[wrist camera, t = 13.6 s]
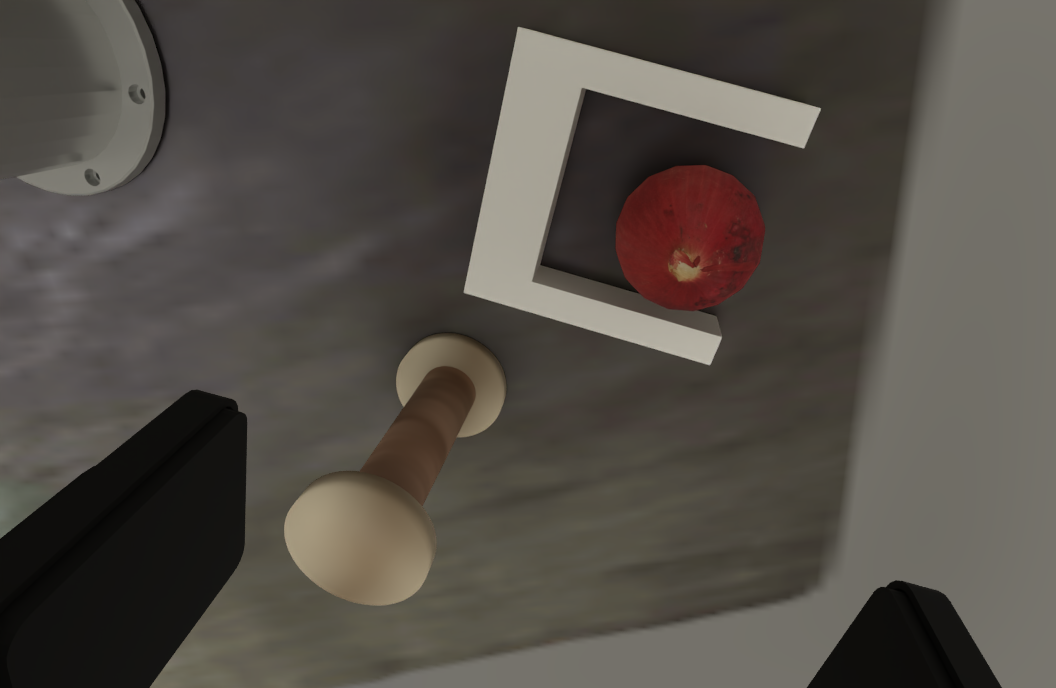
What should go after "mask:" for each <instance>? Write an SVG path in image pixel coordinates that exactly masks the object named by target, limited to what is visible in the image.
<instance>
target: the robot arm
mask: <svg viewBox="0 0 1056 688" xmlns="http://www.w3.org/2000/svg"><path fill="white" fill-rule="evenodd" d="M164 120H165V85H164V79H163V72H162V66H161V62H160V58H159V55H158V52H157V49H156V46H155V42H154V39H153V36H152V34H151V32H150V29H149V27H148V25H147V23H146V21H145V19H144V17H143V15H142V12H141V10H140V8H139V7H138V5H137V3H136V2H135V0H0V180H2V179H7V178H12V177H17V178H19V179H20V180H22V181H24V182H26V183H27V184H30V185H32V186H35V187H37V188H40V189H43V190H45V191H48V192H52V193H57V194H62V195H67V196H89V195H93V194H97V193H102V192H106V191H110V190H113V189H115V188H117V187H120V186H122V185H125V184H127V183H128V182H130V181H131V180H132V179H133V178H135V177H136V176H137V175H139V174H140V173H141V172H142V171H143V169H144V168H145V167H146V165H147V164H148V163H149V162H150V160H151V159H152V158H153V155H154V153H155V151H156V148H157V146H158V144H159V141H160V139H161V135H162V130H163V125H164ZM246 456H247V417H246V415H245V414H244V413H242V412H238V405H237V403H236V401H234V400H232V399H229V398H226V397H222V396H218V395H215V394H211V393H207V392H203V391H200V390H191V391H189V392H188V393H186V394H185V395H183V396H182V397H181V398H180V399H178V400H177V401H176V402H175V403H173V404H172V405H171V406H170V407H168V408H167V409H166V410H165V411H163V412H162V413H161V414H160V415H158V416H157V417H156V418H155V419H153V420H152V421H151V422H150V423H148V424H147V425H146V426H145V427H143V428H142V429H141V430H140V431H138V432H137V433H136V434H135V435H133V436H132V437H131V438H130V439H129V440H127V441H126V442H125V443H124V444H122V445H121V446H120V447H119V448H117V449H116V450H115V451H114V452H112V453H111V454H110V455H109V456H107V457H106V458H105V459H104V460H102V461H101V462H100V463H99V464H97V465H96V466H93V467H92V468H90V469H89V470H87V471H85V472H84V473H82V474H81V475H80V476H78V477H77V478H76V479H75V480H73V481H72V482H71V483H70V484H68V485H67V486H66V487H65V488H63V489H62V490H61V491H60V492H58V493H57V494H56V495H55V496H53V497H52V498H51V499H50V500H48V501H47V502H46V503H45V504H43V505H42V506H41V507H40V508H38V509H37V510H36V511H34V512H33V513H32V514H31V515H29V516H28V517H27V518H26V519H24V520H23V521H22V522H21V523H19V524H18V525H17V526H16V527H14V528H13V529H12V530H11V531H9V532H8V533H7V534H6V535H4V536H3V537H2V538H1V539H0V688H149V687H150V686H151V685H152V683H153V682H154V680H155V679H156V678H157V676H158V675H159V674H160V672H161V671H162V669H163V668H164V667H165V665H166V664H167V663H168V661H169V660H170V659H171V657H172V656H173V654H174V653H175V652H176V650H177V649H178V648H179V646H180V645H181V643H182V642H183V641H184V639H185V638H186V637H187V635H188V634H189V633H190V631H191V630H192V628H193V627H194V626H195V624H196V623H197V622H198V620H199V619H200V618H201V616H202V615H203V613H204V612H205V611H206V609H207V608H208V607H209V605H210V604H211V602H212V601H213V600H214V598H215V597H216V596H217V594H218V593H219V592H220V590H221V589H222V587H223V586H224V585H225V583H226V582H227V581H228V579H229V578H230V576H231V575H232V574H233V572H234V571H235V569H236V568H237V566H238V564H239V562H240V560H241V557H242V554H243V551H244V545H245V502H246ZM807 688H1002V687H1001V686H1000V684H999V682H998V681H997V679H996V677H995V676H994V674H993V672H992V670H991V669H990V667H989V665H988V664H987V662H986V660H985V659H984V657H983V655H982V654H981V652H980V651H979V649H978V647H977V646H976V644H975V642H974V641H973V639H972V637H971V635H970V634H969V632H968V630H967V629H966V627H965V625H964V624H963V622H962V620H961V619H960V617H959V615H958V614H957V612H956V610H955V609H954V607H953V605H952V604H951V602H950V601H949V599H948V598H947V597H946V596H945V595H944V594H943V593H941V592H939V591H937V590H933V589H929V588H926V587H922V586H918V585H915V584H911V583H907V582H904V581H894V582H891V583H890V584H889V585H887V587H880V588H878V589H877V590H876V591H874V592H873V594H872V595H871V597H870V598H869V600H868V601H867V603H866V604H865V605H864V607H863V608H862V610H861V611H860V612H859V614H858V615H857V617H856V618H855V620H854V621H853V622H852V624H851V625H850V627H849V628H848V630H847V631H846V633H845V634H844V635H843V637H842V638H841V640H840V641H839V643H838V644H837V646H836V647H835V648H834V650H833V651H832V652H831V654H830V655H829V657H828V658H827V660H826V661H825V662H824V664H823V665H822V667H821V668H820V670H819V671H818V672H817V674H816V675H815V677H814V678H813V680H812V681H811V682H810V684H809V685H808V687H807Z"/></svg>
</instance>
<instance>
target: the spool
mask: <svg viewBox="0 0 1056 688" xmlns="http://www.w3.org/2000/svg"><path fill="white" fill-rule="evenodd" d="M396 388H397V393H398V396H399V399H400V401H401V403H402V405H403V407H404V408H403V409H402V411H401V412H400V414H399V415H398V416H397V418H396V419H395V421H394V422H393V424H392V425H391V427H390V428H389V430H388V431H387V432H386V434H385V435H384V437H383V438H382V440H381V441H380V443H379V444H378V445H377V447H376V448H375V450H374V451H373V453H372V454H371V456H370V457H369V459H368V460H367V461H366V463H365V464H364V466H363V467H362V469H361V470H360V472H359V471H339V472H334V473H329V474H327V475H324V476H321V477H320V478H318V479H316V480H315V481H313V482H312V483H311V484H310V485H309V486H308V487H307V488H306V489H305V490H304V492H303V493H302V494H301V496H300V497H299V498H298V499H297V501H296V502H295V503H294V504H293V506H292V507H291V509H290V510H289V512H288V514H287V517H286V520H285V526H284V535H285V540H286V544H287V547H288V550H289V552H290V554H291V556H292V558H293V559H294V561H295V563H296V564H297V565H298V567H299V568H300V569H301V570H302V572H303V573H304V574H305V575H306V576H307V577H308V578H310V579H311V580H312V581H313V582H314V583H315V584H317V585H318V586H320V587H321V588H322V589H324V590H326V591H328V592H329V593H331V594H333V595H335V596H337V597H340V598H342V599H345V600H348V601H351V602H355V603H359V604H365V605H388V604H393V603H397V602H400V601H403V600H405V599H407V598H409V597H410V596H412V595H413V594H414V593H415V592H417V591H418V589H419V588H420V587H421V586H422V584H423V582H424V581H425V579H426V576H427V574H428V572H429V569H430V567H431V564H432V562H433V560H434V557H435V554H436V548H437V538H436V533H435V529H434V526H433V524H432V521H431V520H430V518H429V516H428V514H427V513H426V511H425V510H424V508H423V507H422V506H423V504H424V502H425V500H426V498H427V496H428V494H429V492H430V490H431V488H432V486H433V484H434V482H435V480H436V478H437V476H438V474H439V472H440V470H441V468H442V466H443V464H444V462H445V460H446V458H447V456H448V453H449V451H450V449H451V447H452V445H453V443H454V441H455V439H456V437H468V436H472V435H475V434H478V433H480V432H482V431H484V430H485V429H487V428H488V427H489V426H490V425H491V424H492V423H493V422H494V421H495V420H496V418H497V417H498V415H499V413H500V410H501V408H502V406H503V403H504V400H505V397H506V392H507V384H506V377H505V374H504V371H503V368H502V366H501V364H500V363H499V361H498V359H497V358H496V357H495V355H494V354H493V353H492V352H491V351H490V350H489V349H488V348H486V347H485V346H484V345H483V344H481V343H480V342H478V341H476V340H474V339H472V338H470V337H467V336H464V335H460V334H455V333H439V334H434V335H430V336H428V337H426V338H423V339H422V340H420V341H419V342H417V343H416V344H415V345H414V346H413V347H412V348H411V349H410V351H409V352H408V353H407V354H406V356H405V357H404V358H403V360H402V361H401V363H400V365H399V368H398V371H397V376H396Z"/></svg>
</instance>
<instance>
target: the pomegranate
mask: <svg viewBox="0 0 1056 688" xmlns="http://www.w3.org/2000/svg"><path fill="white" fill-rule="evenodd" d="M764 234H765V225H764V222H763V219H762V216H761V213H760V210H759V207H758V204H757V201H756V198H755V196H754V195H753V194H752V193H751V192H750V191H749V190H748V189H747V188H746V187H745V186H744V185H742V184H741V183H740V182H739V181H738V180H737V179H736V178H735V177H734V176H733V175H730V174H728V173H725V172H723V171H720V170H717V169H715V168H712V167H710V166H707V165H690V166H675V167H672V168H670V169H667V170H665V171H662V172H660V173H657V174H655V175H652V176H649V177H648V178H647V179H646V180H645V181H644V182H643V183H642V184H641V185H640V186H639V187H638V188H637V189H635V190H634V191H633V192H632V193H631V194H630V195H629V196H628V197H627V199H626V202H625V204H624V206H623V209H622V211H621V213H620V216H619V218H618V220H617V222H616V246H615V249H616V253H617V256H618V259H619V262H620V265H621V268H622V270H623V273H624V276H625V278H626V279H627V280H628V281H629V283H630V284H631V285H632V286H633V287H634V288H635V289H636V290H637V291H638V292H639V293H640V294H641V295H642V296H643V297H644V298H645V299H647V300H649V301H651V302H653V303H655V304H658V305H660V306H662V307H664V308H666V309H671V310H683V311H696V310H700V309H704V308H707V307H711V306H715V305H718V304H720V303H721V302H723V301H724V300H726V299H727V298H729V297H730V296H732V295H733V294H735V293H736V292H738V291H739V290H741V289H742V288H743V287H744V285H745V284H746V282H747V281H748V279H749V278H750V276H751V275H752V273H753V272H754V270H755V269H756V267H757V266H758V264H759V263H760V258H761V252H762V246H763V240H764Z"/></svg>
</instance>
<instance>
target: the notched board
mask: <svg viewBox="0 0 1056 688" xmlns="http://www.w3.org/2000/svg"><path fill="white" fill-rule="evenodd" d="M586 89H589V90H592V91H596V92H599V93H603V94H607V95H610V96H614V97H618V98H621V99H625V100H629V101H632V102H636V103H640V104H643V105H647V106H651V107H654V108H658V109H662V110H665V111H669V112H673V113H676V114H680V115H684V116H687V117H691V118H694V119H698V120H702V121H705V122H709V123H713V124H716V125H720V126H724V127H727V128H731V129H735V130H738V131H742V132H746V133H749V134H753V135H757V136H760V137H764V138H768V139H771V140H775V141H779V142H782V143H786V144H789V145H793V146H797V147H800V148H804V147H805V145H806V142H807V140H808V138H809V135H810V133H811V131H812V128H813V126H814V124H815V121H816V119H817V117H818V115H819V112H820V110H821V108H817V107H814V106H811V105H808V104H805V103H801V102H797V101H794V100H790V99H786V98H782V97H779V96H775V95H771V94H768V93H764V92H760V91H756V90H753V89H749V88H745V87H742V86H738V85H734V84H731V83H727V82H723V81H719V80H716V79H712V78H708V77H705V76H701V75H697V74H693V73H690V72H686V71H682V70H679V69H675V68H671V67H668V66H664V65H660V64H656V63H653V62H649V61H645V60H642V59H638V58H634V57H630V56H627V55H623V54H619V53H616V52H612V51H608V50H605V49H601V48H597V47H593V46H590V45H586V44H582V43H579V42H575V41H571V40H567V39H564V38H560V37H556V36H553V35H549V34H545V33H542V32H538V31H534V30H530V29H526V28H521V27H518V30H517V35H516V40H515V45H514V50H513V55H512V59H511V64H510V69H509V74H508V79H507V84H506V89H505V93H504V98H503V103H502V108H501V113H500V118H499V123H498V128H497V132H496V137H495V142H494V147H493V152H492V157H491V162H490V167H489V171H488V176H487V181H486V186H485V191H484V196H483V201H482V206H481V210H480V215H479V220H478V225H477V230H476V235H475V240H474V244H473V249H472V254H471V259H470V264H469V269H468V274H467V279H466V283H465V288H464V293H466V294H470V295H473V296H476V297H480V298H483V299H487V300H490V301H493V302H497V303H500V304H504V305H507V306H510V307H514V308H517V309H521V310H524V311H527V312H531V313H534V314H538V315H541V316H544V317H548V318H551V319H554V320H558V321H561V322H565V323H568V324H571V325H575V326H578V327H582V328H585V329H588V330H592V331H595V332H599V333H602V334H605V335H609V336H612V337H616V338H619V339H622V340H626V341H629V342H633V343H636V344H639V345H643V346H646V347H650V348H653V349H656V350H660V351H663V352H667V353H670V354H673V355H677V356H680V357H684V358H687V359H690V360H694V361H697V362H701V363H704V364H707V365H710V364H711V362H712V360H713V357H714V355H715V353H716V350H717V348H718V346H719V344H720V341H721V339H722V335H721V331H720V327H719V323H718V319H717V316H714V315H711V314H707V313H704V312H700V311H697V310H696V311H683V310H671V309H666V308H664V307H662V306H660V305H658V304H655V303H653V302H651V301H649V300H647V299H645V298H644V297H643V296H642V295H641V294H638V293H635V292H631V291H628V290H624V289H621V288H618V287H614V286H611V285H607V284H604V283H600V282H597V281H593V280H590V279H587V278H583V277H580V276H576V275H573V274H569V273H566V272H562V271H559V270H555V269H552V268H549V267H545V266H542V265H540V264H541V260H542V256H543V252H544V248H545V245H546V241H547V237H548V233H549V229H550V225H551V222H552V218H553V214H554V210H555V206H556V203H557V199H558V195H559V191H560V187H561V184H562V180H563V176H564V172H565V168H566V164H567V161H568V157H569V153H570V149H571V145H572V142H573V138H574V134H575V130H576V126H577V122H578V119H579V115H580V111H581V107H582V103H583V100H584V96H585V92H586Z"/></svg>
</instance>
